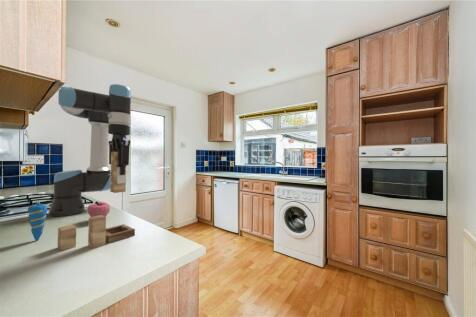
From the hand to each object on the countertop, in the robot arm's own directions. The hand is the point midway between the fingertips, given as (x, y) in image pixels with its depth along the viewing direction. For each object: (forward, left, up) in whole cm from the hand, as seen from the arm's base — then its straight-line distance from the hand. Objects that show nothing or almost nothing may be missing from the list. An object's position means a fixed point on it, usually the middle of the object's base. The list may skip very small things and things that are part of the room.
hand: (118, 182), depth 80 cm
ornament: (-18, -20, -22) cm, 35 cm away
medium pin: (+3, -8, -22) cm, 23 cm away
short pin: (-3, -15, -22) cm, 27 cm away
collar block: (0, 0, -22) cm, 22 cm away
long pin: (0, 0, -4) cm, 4 cm away
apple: (-27, +3, -22) cm, 35 cm away
